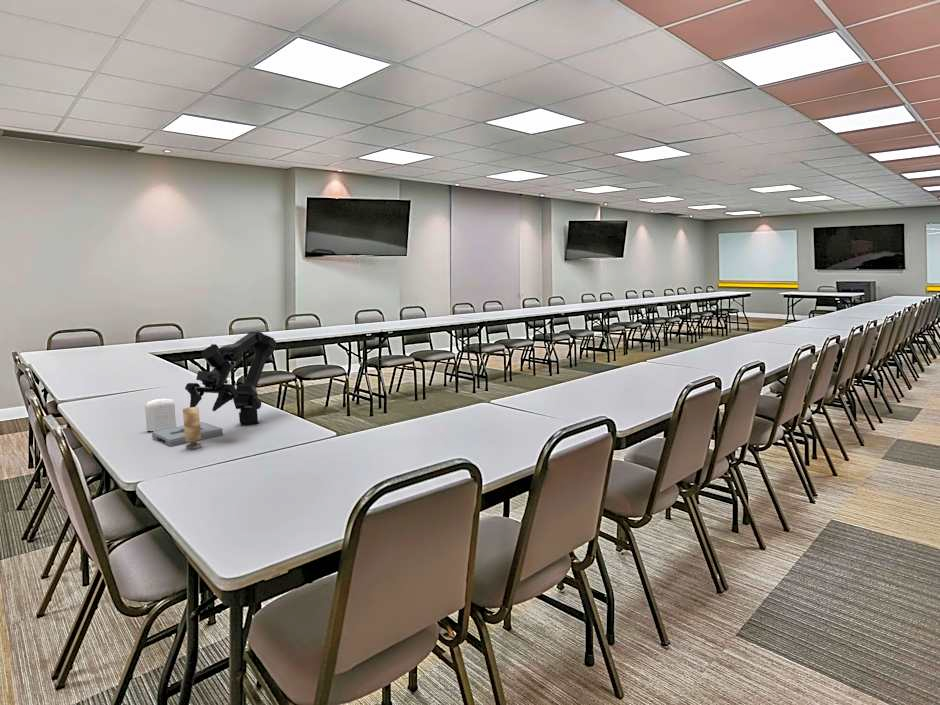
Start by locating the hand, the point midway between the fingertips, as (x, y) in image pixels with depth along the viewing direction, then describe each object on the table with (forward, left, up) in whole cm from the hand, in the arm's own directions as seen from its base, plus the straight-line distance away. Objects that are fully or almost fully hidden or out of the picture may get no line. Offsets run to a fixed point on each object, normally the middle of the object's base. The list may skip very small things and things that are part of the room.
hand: (202, 410), depth 207 cm
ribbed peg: (+3, +5, -12) cm, 13 cm away
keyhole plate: (+6, -12, -12) cm, 18 cm away
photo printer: (+15, -27, -12) cm, 34 cm away
